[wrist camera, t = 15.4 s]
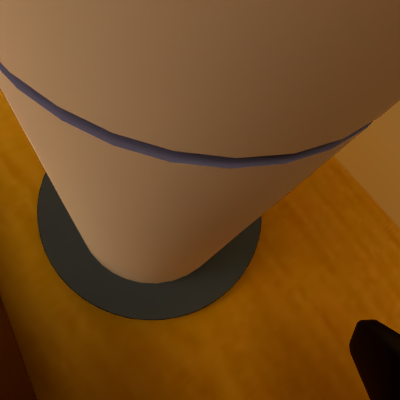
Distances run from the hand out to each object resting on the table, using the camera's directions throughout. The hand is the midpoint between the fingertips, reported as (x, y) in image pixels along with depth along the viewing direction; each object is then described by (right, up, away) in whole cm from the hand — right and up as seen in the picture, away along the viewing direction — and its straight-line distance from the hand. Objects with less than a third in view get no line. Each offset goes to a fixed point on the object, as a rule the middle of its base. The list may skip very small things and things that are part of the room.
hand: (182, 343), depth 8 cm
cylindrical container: (-2, +3, +9) cm, 10 cm away
